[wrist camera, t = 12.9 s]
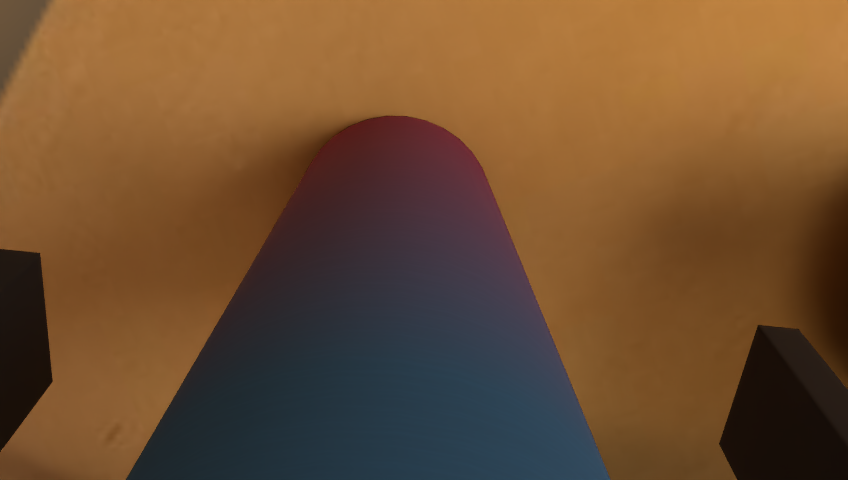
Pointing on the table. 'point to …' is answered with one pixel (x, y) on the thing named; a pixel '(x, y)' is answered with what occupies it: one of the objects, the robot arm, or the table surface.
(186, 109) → the table surface
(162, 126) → the table surface
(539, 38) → the table surface
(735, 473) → the robot arm
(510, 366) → the cup
